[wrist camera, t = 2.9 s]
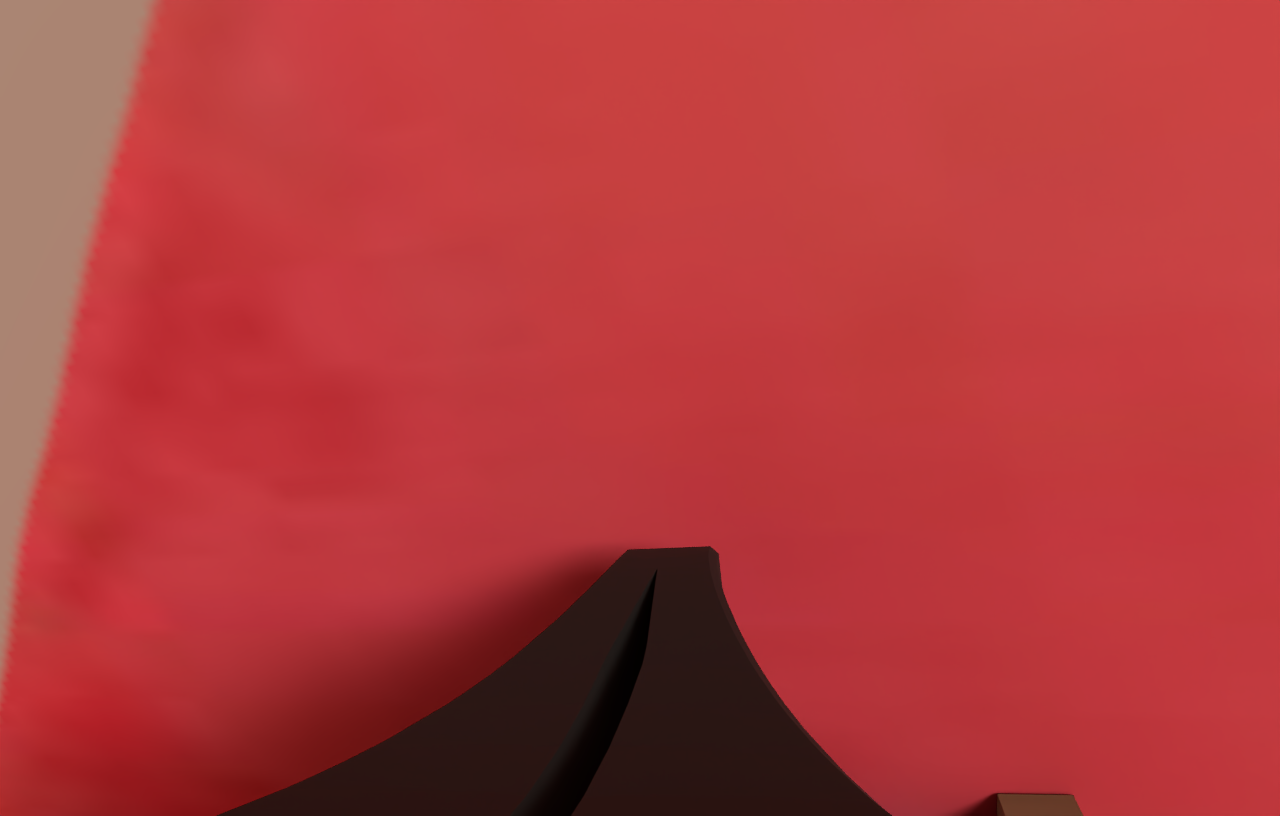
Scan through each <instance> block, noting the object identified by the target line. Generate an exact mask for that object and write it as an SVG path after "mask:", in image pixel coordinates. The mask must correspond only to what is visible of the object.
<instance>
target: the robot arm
mask: <svg viewBox="0 0 1280 816" xmlns="http://www.w3.org/2000/svg"><path fill="white" fill-rule="evenodd" d="M217 816H892V815H891V814H889V813H888V812H887V811H885V810H884V809H883V808H882V807H881V806H880V805H878V804H877V803H876V802H875V801H874V800H873V799H872V798H871V797H870V796H869V795H868V794H867V793H866V792H864V791H863V790H862V789H861V788H860V787H859V786H858V785H857V784H856V783H855V782H854V781H853V780H852V779H851V778H850V777H848V776H847V775H846V774H845V773H844V772H843V770H842V769H841V768H840V767H839V766H838V765H837V764H836V763H835V762H834V761H833V760H832V759H831V757H830V756H829V755H828V754H827V753H826V752H825V751H824V750H823V749H822V748H821V747H820V745H819V744H818V743H817V742H816V741H815V740H814V739H813V738H812V737H811V736H810V735H809V734H808V732H807V731H806V730H805V729H804V728H803V727H802V725H801V724H800V723H799V722H798V720H797V719H796V718H795V717H794V715H793V714H792V713H791V711H790V710H789V709H788V708H787V706H786V705H785V704H784V702H783V701H782V700H781V698H780V697H779V695H778V694H777V692H776V691H775V690H774V688H773V687H772V685H771V684H770V682H769V681H768V679H767V678H766V676H765V675H764V673H763V672H762V670H761V668H760V667H759V665H758V663H757V662H756V660H755V658H754V656H753V655H752V653H751V651H750V649H749V648H748V646H747V644H746V642H745V640H744V638H743V636H742V634H741V632H740V630H739V628H738V626H737V624H736V622H735V619H734V617H733V615H732V612H731V610H730V608H729V605H728V603H727V601H726V598H725V595H724V592H723V589H722V582H721V573H720V563H719V554H718V553H717V552H716V551H715V550H714V549H713V548H711V547H710V546H708V547H683V548H659V549H634V550H627V551H626V552H625V553H624V554H623V555H622V556H621V557H620V558H619V559H618V560H617V561H616V562H615V563H614V564H613V565H612V566H611V567H610V568H609V569H608V570H607V571H606V572H605V573H604V574H603V575H602V576H601V577H600V578H599V579H598V580H597V581H596V582H595V583H594V584H593V585H592V586H591V587H590V588H589V589H588V590H587V591H586V592H585V593H584V594H583V595H582V596H581V597H580V598H579V599H578V600H577V601H576V602H575V603H574V604H573V605H572V606H571V607H570V608H569V609H568V610H567V611H566V612H565V613H564V614H562V615H561V616H560V617H559V618H558V619H557V620H556V621H555V622H554V623H552V624H551V625H550V626H549V627H548V628H547V629H545V630H544V631H543V632H542V633H541V634H540V635H539V636H537V637H536V638H535V639H534V640H533V641H532V642H530V643H529V644H528V645H527V646H526V647H525V648H523V649H522V650H521V651H520V652H519V653H518V654H517V655H515V656H514V657H513V658H512V659H510V660H509V661H508V662H506V663H505V664H504V665H503V666H501V667H500V668H499V669H497V670H496V671H495V672H493V673H492V674H491V675H489V676H488V677H486V678H485V679H484V680H482V681H481V682H479V683H478V684H476V685H475V686H474V687H472V688H471V689H469V690H468V691H466V692H465V693H463V694H462V695H461V696H459V697H458V698H456V699H454V700H453V701H451V702H450V703H448V704H447V705H445V706H443V707H442V708H440V709H438V710H437V711H435V712H433V713H431V714H430V715H428V716H426V717H425V718H423V719H421V720H420V721H418V722H416V723H415V724H413V725H411V726H409V727H408V728H406V729H404V730H403V731H401V732H399V733H398V734H396V735H394V736H393V737H391V738H389V739H387V740H385V741H384V742H382V743H380V744H378V745H376V746H374V747H372V748H370V749H368V750H366V751H364V752H362V753H360V754H358V755H356V756H354V757H352V758H350V759H349V760H346V761H344V762H342V763H340V764H338V765H336V766H334V767H332V768H329V769H327V770H325V771H323V772H321V773H319V774H317V775H315V776H312V777H310V778H308V779H306V780H304V781H301V782H299V783H297V784H294V785H292V786H290V787H288V788H285V789H283V790H280V791H278V792H275V793H273V794H270V795H268V796H265V797H263V798H260V799H258V800H255V801H252V802H250V803H247V804H245V805H242V806H240V807H237V808H235V809H232V810H230V811H227V812H225V813H222V814H220V815H217Z"/></svg>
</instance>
